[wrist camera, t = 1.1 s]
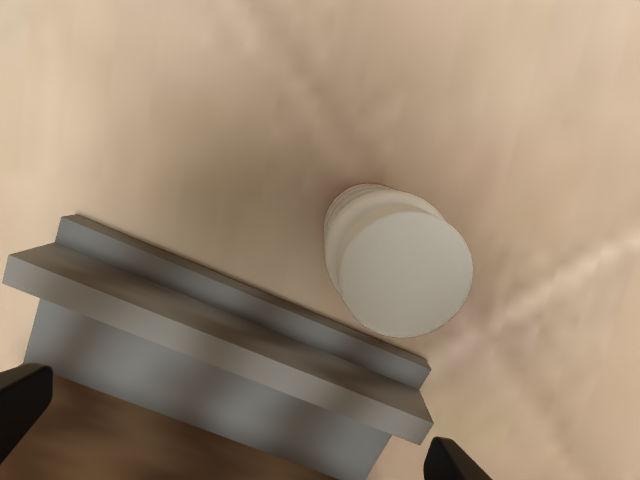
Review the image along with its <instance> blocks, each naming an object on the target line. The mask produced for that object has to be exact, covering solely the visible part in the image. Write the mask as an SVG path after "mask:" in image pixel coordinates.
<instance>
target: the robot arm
mask: <svg viewBox="0 0 640 480" xmlns="http://www.w3.org/2000/svg"><path fill="white" fill-rule="evenodd" d="M52 397H53V369H52V367H51V366H49V365H45V364H39V363H28V364H25V365H22V366H19V367H16V368H13V369H10V370H7V371H3V372H0V465H1V464H2V463H3V461H4V460H5V459H6V458H7V456H8V455H9V454H10V453H11V452H12V450H13V449H14V448H15V447H16V445H17V444H18V443H19V442H20V441H21V439H22V438H23V437H24V436H25V435H26V433H27V432H28V431H29V430H30V428H31V427H32V426H33V425H34V424H35V422H36V421H37V420H38V419H39V417H40V416H41V415H42V414H43V413H44V411H45V410H46V409H47V408H48V406H49V404H50V403H51V400H52ZM423 471H424V479H425V480H492V479H491V478H490V477H489V476H488V475H487V474H486V473H485V472H484V471H483V470H482V469H481V468H480V467H479V466H478V465H477V464H476V463H475V462H474V461H473V460H472V459H471V458H470V457H469V456H468V455H467V454H466V453H465V452H464V451H463V450H462V449H461V448H460V447H459V446H458V444H457V443H456V442H454V441H453V440H452V439H449V438H444V437H438V436H437V437H434V438H433V440H432V442H431V445H430V448H429V450H428V453H427V456H426V459H425V462H424V469H423Z"/></svg>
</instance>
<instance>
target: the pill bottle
mask: <svg viewBox="0 0 640 480" xmlns="http://www.w3.org/2000/svg"><path fill="white" fill-rule="evenodd" d="M324 240H325V262H326V268H327V271H328V274H329V277H330V279H331V281H332V283H333V285H334V287H335V288H336V290H337V291H338V292H339V294H340V295H341V296H342V298H343V300H344V303H345V305H346V306H347V308H348V310H349V311H350V313H351V314H352V315H353V316H354V318H355V319H356V320H358V321H359V322H360V323H361V324H362V325H363V326H365V327H366V328H368V329H370V330H372V331H373V332H376V333H378V334H381V335H384V336H388V337H394V338H409V337H416V336H421V335H424V334H427V333H429V332H432V331H434V330H436V329H438V328H440V327H441V326H443V325H444V324H446V323H447V322H448V321H449V320H450V319H452V318H453V317H454V316H455V315H456V314H457V312H458V311H459V310H460V308H461V307H462V306H463V304H464V302H465V300H466V299H467V296H468V294H469V292H470V289H471V284H472V279H473V263H472V258H471V254H470V251H469V248H468V246H467V244H466V242H465V240H464V239H463V237H462V236H461V235H460V234H459V232H458V231H457V230H456V229H455V228H454V227H453V226H452V225H450V224H449V223H448V222H446V221H445V219H444V218H443V216H442V215H441V214H440V213H439V211H438V210H437V209H436V208H435V207H433V206H432V205H431V204H430V203H428V202H427V201H425V200H424V199H422V198H420V197H418V196H416V195H413V194H410V193H407V192H403V191H399V190H395V189H392V188H389V187H386V186H384V185H381V184H375V183H364V184H358V185H355V186H352V187H349V188H347V189H346V190H344V191H343V192H341V193H340V194H339V195H338V196H337V197H336V198H335V199H334V200H333V202H332V203H331V204H330V206H329V208H328V210H327V213H326V216H325V220H324Z"/></svg>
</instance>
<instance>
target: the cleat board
mask: <svg viewBox="0 0 640 480" xmlns="http://www.w3.org/2000/svg"><path fill="white" fill-rule="evenodd" d="M2 283H3V284H5V285H8V286H11V287H13V288H16V289H18V290H21V291H23V292H26V293H29V294H31V295H34V296H36V297H39V298H40V301H39V305H38V309H37V313H36V316H35V320H34V324H33V328H32V332H31V336H30V339H29V343H28V347H27V351H26V355H25V358H24V362H23V364H21V365H20V366H22V365H25V364H28V363H39V364H45V365H49V366H51V367H52V369H53V397H52V400H51V403H50V404H49V406H48V408H47V409H46V410H45V411H44V413H43V414H42V415H41V416H40V417H39V419H38V420H37V421H36V422H35V424H34V425H33V426H32V427H31V428H30V430H29V431H28V432H27V433H26V435H25V436H24V437H23V438H22V439H21V441H20V442H19V443H18V444H17V445H16V447H15V448H14V449H13V450H12V452H11V453H10V454H9V455H8V456H7V458H6V459H5V460H4V461H3V463H2V464H1V465H0V480H365V479H366V477H367V476H368V474H369V472H370V471H371V469H372V467H373V466H374V464H375V462H376V461H377V459H378V457H379V456H380V454H381V452H382V451H383V449H384V447H385V446H386V444H387V442H388V441H389V439H390V437H391V436H392V435H394V436H397V437H400V438H402V439H405V440H407V441H410V442H412V443H415V444H418V445H421V443H422V441H423V440H424V438H425V437H426V435H427V434H428V432H429V430H430V429H431V427H432V426H433V424H434V423H433V421H432V418H431V416H430V414H429V411H428V409H427V407H426V405H425V402H424V400H423V398H422V396H421V393H420V391H419V389H420V387H421V386H422V384H423V382H424V381H425V379H426V377H427V376H428V374H429V372H430V371H431V368H430V367H429V365H428V363H427V361H426V359H423V358H421V357H419V356H416V355H414V354H411V353H409V352H407V351H404V350H402V349H399V348H397V347H395V346H392V345H390V344H387V343H385V342H382V341H380V340H378V339H375V338H373V337H370V336H368V335H366V334H363V333H361V332H358V331H356V330H354V329H351V328H349V327H346V326H344V325H342V324H339V323H337V322H334V321H332V320H330V319H327V318H325V317H322V316H320V315H317V314H315V313H313V312H310V311H308V310H305V309H303V308H301V307H298V306H296V305H293V304H291V303H289V302H286V301H284V300H281V299H279V298H277V297H274V296H272V295H269V294H267V293H265V292H262V291H260V290H257V289H255V288H252V287H250V286H248V285H245V284H243V283H240V282H238V281H236V280H233V279H231V278H228V277H226V276H224V275H221V274H219V273H216V272H214V271H212V270H209V269H207V268H204V267H202V266H200V265H197V264H195V263H192V262H190V261H188V260H185V259H183V258H180V257H178V256H175V255H173V254H171V253H168V252H166V251H163V250H161V249H159V248H156V247H154V246H151V245H149V244H147V243H144V242H142V241H139V240H137V239H135V238H132V237H130V236H127V235H125V234H123V233H120V232H118V231H115V230H113V229H110V228H108V227H106V226H103V225H101V224H98V223H96V222H94V221H91V220H89V219H86V218H84V217H82V216H79V215H77V214H75V215H70V216H64V217H61V221H60V225H59V228H58V232H57V236H56V240H55V242H54V243H51V244H47V245H43V246H40V247H36V248H32V249H29V250H25V251H21V252H18V253H14V254H10V255H8V260H7V264H6V268H5V273H4V277H3V282H2ZM18 367H19V366H18Z"/></svg>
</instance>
